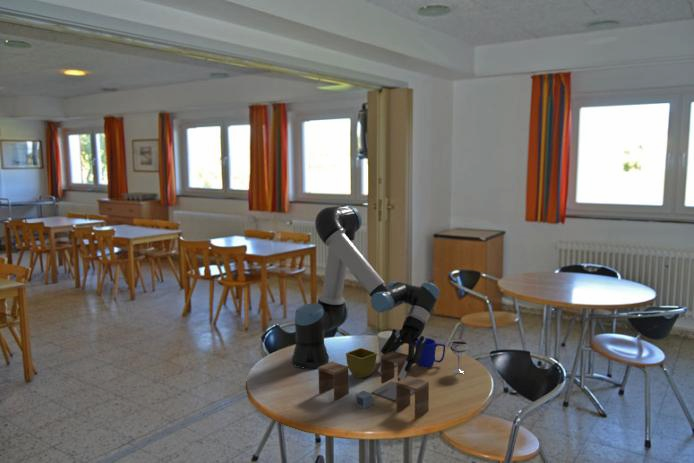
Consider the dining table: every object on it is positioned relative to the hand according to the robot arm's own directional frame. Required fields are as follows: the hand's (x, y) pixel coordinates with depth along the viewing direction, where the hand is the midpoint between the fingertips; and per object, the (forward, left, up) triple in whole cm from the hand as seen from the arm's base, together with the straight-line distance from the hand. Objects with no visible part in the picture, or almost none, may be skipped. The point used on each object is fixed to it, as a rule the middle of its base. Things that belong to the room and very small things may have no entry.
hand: (390, 375), depth 189 cm
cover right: (+13, -5, -7) cm, 15 cm away
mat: (0, +3, -7) cm, 8 cm away
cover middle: (0, +3, -4) cm, 5 cm away
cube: (-2, -12, -7) cm, 14 cm away
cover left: (-16, -12, -7) cm, 21 cm away
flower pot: (-19, +7, -7) cm, 22 cm away
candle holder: (-18, +24, -7) cm, 31 cm away
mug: (-4, +32, -7) cm, 33 cm away
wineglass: (+8, +34, -7) cm, 36 cm away
